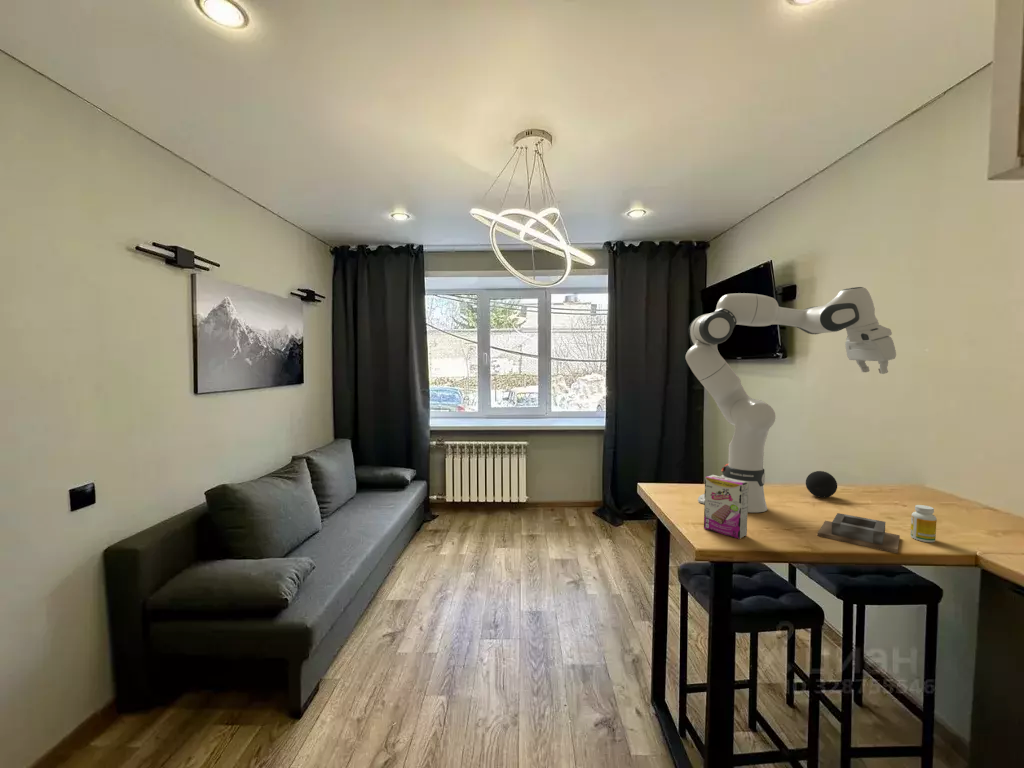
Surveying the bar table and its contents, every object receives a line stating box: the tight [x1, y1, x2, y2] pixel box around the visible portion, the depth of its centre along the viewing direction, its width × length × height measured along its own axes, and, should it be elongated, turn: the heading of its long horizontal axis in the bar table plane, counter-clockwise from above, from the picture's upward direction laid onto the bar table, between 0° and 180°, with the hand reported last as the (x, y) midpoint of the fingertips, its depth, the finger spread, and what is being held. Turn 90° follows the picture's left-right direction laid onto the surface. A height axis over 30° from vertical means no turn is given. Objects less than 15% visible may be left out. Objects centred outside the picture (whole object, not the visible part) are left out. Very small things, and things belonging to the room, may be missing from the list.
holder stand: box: [816, 512, 901, 554], centre depth 131 cm, size 18×14×4 cm
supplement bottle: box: [910, 504, 938, 543], centre depth 130 cm, size 5×5×10 cm
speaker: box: [805, 470, 838, 499], centre depth 171 cm, size 10×10×10 cm
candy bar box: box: [703, 474, 749, 540], centre depth 135 cm, size 11×5×16 cm, turn 39°
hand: (874, 372), depth 152 cm, fingers open, 8 cm apart
